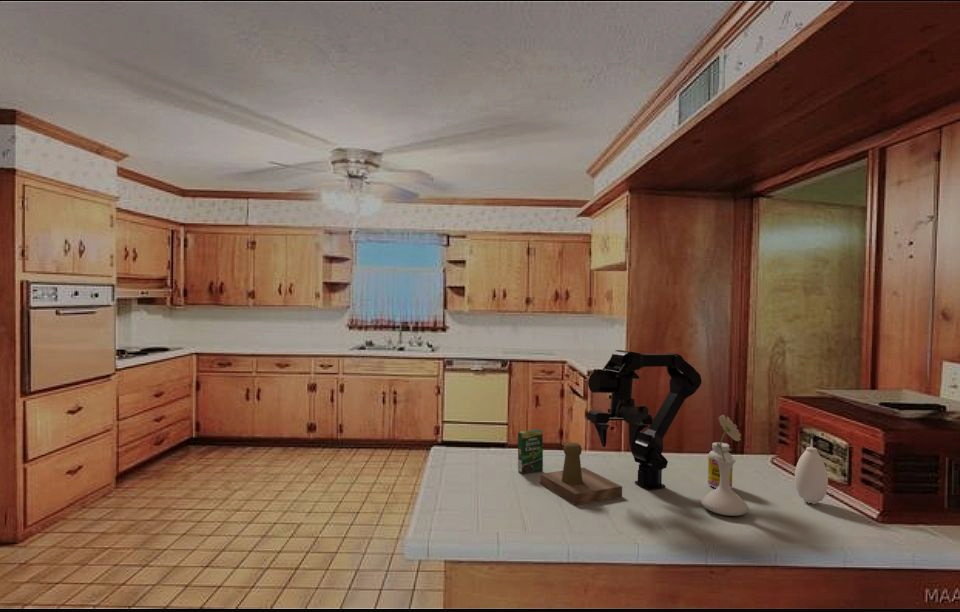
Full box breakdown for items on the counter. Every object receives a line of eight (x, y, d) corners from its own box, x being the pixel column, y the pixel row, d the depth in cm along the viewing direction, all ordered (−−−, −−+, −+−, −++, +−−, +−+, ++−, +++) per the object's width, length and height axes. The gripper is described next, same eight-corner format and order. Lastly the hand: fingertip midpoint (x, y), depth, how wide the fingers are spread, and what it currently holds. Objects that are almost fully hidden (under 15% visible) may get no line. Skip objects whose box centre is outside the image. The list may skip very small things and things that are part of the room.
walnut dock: (583, 476, 162) (583, 467, 162) (622, 496, 146) (622, 486, 146) (540, 483, 155) (540, 473, 155) (575, 505, 139) (575, 494, 139)
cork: (586, 483, 147) (587, 445, 147) (567, 485, 146) (567, 446, 146) (576, 476, 153) (577, 440, 153) (557, 478, 151) (558, 441, 151)
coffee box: (521, 474, 164) (521, 433, 164) (516, 471, 166) (517, 431, 166) (543, 471, 167) (543, 431, 167) (538, 468, 170) (539, 429, 170)
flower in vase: (752, 522, 130) (754, 423, 129) (703, 516, 133) (705, 419, 133) (742, 503, 142) (744, 413, 142) (697, 498, 145) (699, 410, 145)
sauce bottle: (825, 501, 145) (826, 437, 145) (829, 510, 138) (830, 443, 138) (793, 495, 149) (794, 433, 149) (795, 504, 142) (796, 439, 142)
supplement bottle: (708, 488, 153) (708, 445, 153) (707, 481, 160) (708, 440, 159) (733, 492, 151) (733, 448, 151) (731, 485, 157) (732, 442, 157)
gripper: (608, 396, 140) (604, 454, 140) (666, 399, 146) (662, 454, 145) (588, 390, 151) (584, 444, 150) (642, 392, 156) (638, 444, 156)
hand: (617, 446), depth 150 cm, fingers open, 9 cm apart
